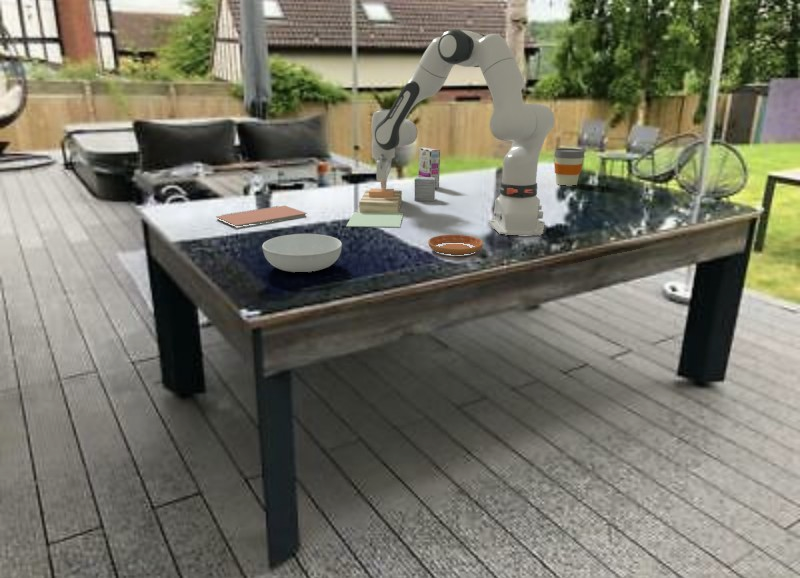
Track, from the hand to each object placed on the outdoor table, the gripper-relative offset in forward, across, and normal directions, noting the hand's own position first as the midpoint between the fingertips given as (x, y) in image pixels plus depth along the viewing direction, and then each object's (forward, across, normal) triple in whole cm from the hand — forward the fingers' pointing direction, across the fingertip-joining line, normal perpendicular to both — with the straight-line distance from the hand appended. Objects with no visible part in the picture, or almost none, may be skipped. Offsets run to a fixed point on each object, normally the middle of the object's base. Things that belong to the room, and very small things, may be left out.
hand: (383, 188), depth 246 cm
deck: (+5, -10, 0) cm, 11 cm away
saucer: (+5, -66, -27) cm, 71 cm away
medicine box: (+5, +3, -16) cm, 17 cm away
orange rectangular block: (+1, -9, 0) cm, 9 cm away
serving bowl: (+5, -85, +14) cm, 86 cm away
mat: (+5, -31, 0) cm, 31 cm away
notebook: (+6, -30, +41) cm, 51 cm away
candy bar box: (+5, +30, -17) cm, 35 cm away
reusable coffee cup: (+5, +39, -78) cm, 87 cm away
